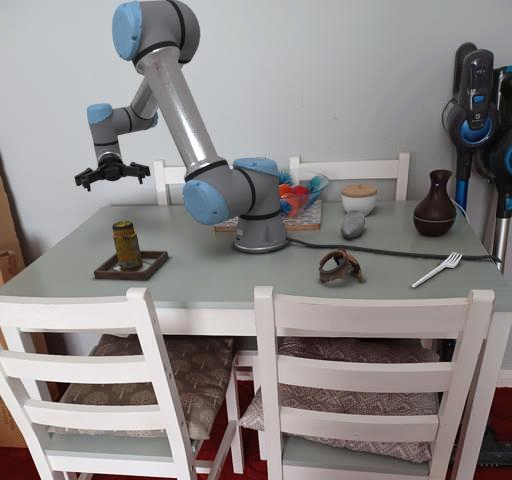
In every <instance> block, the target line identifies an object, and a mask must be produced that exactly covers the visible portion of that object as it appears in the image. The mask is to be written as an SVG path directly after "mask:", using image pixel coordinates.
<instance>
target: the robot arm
mask: <svg viewBox="0 0 512 480" xmlns="http://www.w3.org/2000/svg"><path fill="white" fill-rule="evenodd" d="M111 35H112V41H113V46H114V49H115V52H116V54H117V55H118V57H119V58H120V59H122V60H123V61H126V62H131V63H132V65H133V67H134V69H135V71H136V73H137V74H138V75H141V76H143V79H142V81H141V83H140V84H139V86H138V89H137V90H136V92H135V94H134V97H133V99H132V101H131V102H130V104H129V105H128V106H122V107H115V108H113V106H112V105H111V104H110V103H109V102H108V103H107V102H103V103H94V104H90V105H88V106H87V107H86V118H87V123H88V127H89V130H90V134H91V137H92V142H93V149H94V153H95V158H96V163H97V167H96V169H93V168H91V167H87V168H86V169H85V170H83V171H82V172H79V173H78V174H76V175H74V182H75V185H76V187H80V186H82V188H83V189H86V191H87V193H91V192H92V190H91V184H93V183H96V182H99V181H105V180H106V181H108V182H116V181H119V180H121V179H122V178H126V177H132V178H137V180H138V183H139V185H143V184H144V181H143V179H146V177H151V175H152V174H151V169H150V168H151V167H150V166H149V165H145V164H141V163H136V162H135V161H131V162H130V163H129V165H127V164H125V163H124V160H123V158H122V157H123V156H122V153H121V147H120V141H119V136H122V135H128V134H132V133H136V132H142V131H148V130H150V129H154V128H155V127H156V126H157V125H158V123H159V113H158V110H159V111H160V113H161V115H162V117H163V120H164V122H165V124H166V126H167V129H168V131H169V134H170V136H171V138H172V140H173V142H174V145H175V147H176V149H177V151H178V154H179V156H180V159H181V161H182V163H183V165H184V167H185V173H184V176H183V180H184V182H185V184H184V185H183V187H182V191H181V193H182V196H183V197H182V201H183V204H184V206H185V209H186V211H187V213H188V214H189V215H190V217H191V218H192V219H193V220H194V221H196V222H197V223H199V224H201V225H203V226H208V227H209V226H214V225H218V224H223V223H224V222H226V221H229V220H232V219H234V218H237V223H236V228H235V232H234V236H233V244H234V248H235V249H236V250H237V251H240V252H243V253H246V254H267V253H272V252H276V251H279V250H281V249H283V248H285V247H286V246H287V245H288V244H289V242H293V243H296V244H298V245H303V246H306V247H309V248H317V249H339V248H344V249H345V250H354V251H355V250H356V251H361V252H362V251H363V252H369V253H378V254H385V255H394V256H403V257H404V256H405V257H412V258H413V257H414V258H427V259H429V258H430V259H447V258H448V257H449V256H450V255H451V254H433V253H418V252H404V251H395V250H387V249H379V248H371V247H364V246H356V245H347V244H317V243H316V244H315V243H309V242H306V241H303V240H301V239H296V238H292V237H289V233H288V231H287V227H286V225H285V223H284V220H283V218H282V216H281V196H280V193H281V192H280V175H279V169H278V168H279V167H278V163H277V162H276V161H275V160H273V159H270V158H264V157H241V158H235V159H234V160H233V161H232V168H231V167H230V165H229V163H228V160H227V158H224V157H222V156H220V155H218V152H217V150H216V148H215V146H214V143H213V141H212V139H211V136H210V134H209V131H208V129H207V127H206V124H205V122H204V120H203V117H202V115H201V112H200V110H199V108H198V106H197V103H196V101H195V98H194V96H193V94H192V92H191V89H190V87H189V85H188V83H187V80H186V77H185V76H184V73H183V70H182V69H183V67H184V65H188V64H189V63H190V62H191V61H192V60H193V59H194V57H195V55H196V53H197V51H198V49H199V46H200V42H201V26H200V23H199V20H198V17H197V15H196V14H195V12H194V11H193V10H192V8H191V7H190V6H188V5H187V4H186V3H185V2H182V1H181V0H141V1H138V0H132V1H128V2H122V3H120V4H118V6H117V7H116V9H115V10H114V13H113V16H112V20H111ZM460 255H461V254H459V255H458V257H457V259H458V258H459V257H460ZM453 256H454V254H453V255H452V257H453ZM456 256H457V254H456V255H455V257H456ZM452 257H451V258H452ZM455 257H454V258H453V260H454V259H455ZM451 258H450V259H451ZM450 259H449V260H450ZM457 259H456V260H457ZM486 259H487V260H488V259H490V260H494V261H496V263H499V264H503V263H504V262H503V261H502V260H501V258H499V257H498V256H496V255H493V254H484V255H466V254H465V255H463V254H462V256H461V259H460V260H486Z"/></svg>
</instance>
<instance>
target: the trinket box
mask: <svg viewBox="0 0 512 480" xmlns="http://www.w3.org/2000/svg"><path fill="white" fill-rule="evenodd" d="M377 196H378V188H377V187H376V186H375V185H372V184H362V183H360V182H358V183H357V184H349V185H346V186H344V187H342V188H341V203H342V207H343V209H344V211H345V212H346V214H347V213H348V212H349V211H351V210H359V211H361V212H362V213H363V214H364V217H367V216H369V214H370V213H371V212H372V211H373V210H374V208H375V206H376V203H377V199H378V198H377Z"/></svg>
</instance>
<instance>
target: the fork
mask: <svg viewBox="0 0 512 480" xmlns="http://www.w3.org/2000/svg"><path fill="white" fill-rule="evenodd" d="M449 255H450V256H449V257H448V258H445V260H443V261H442V262H441V263H440V265H438V266H437V267H435V268H434V269H433V270H431V271H429V272H428V273H427V274H425V275H424V276H423V277H421V278H420V279H418V280H417V281H415V282H414V283H412V285H411V288H416V287H418V286H419V285H421V284H422V283H424V282H425V281H427V280H428V279H430V278H432V276H433V277H434V275H436V274H437V273H439V272H440V271H442V270H443V269H444V268H449V269H450V268H451V269H454V268H455V267H457V265H458V264H459V262H460V260H462V259H461V256H462V255H463V253H461V254H460V252H458V253H457V252H456V251H453V252H451V254H449ZM452 255H454V256H453V257H452ZM455 255H457V256H456V257H455ZM458 255H460V257H459V258H458V259H457V257H458ZM451 257H452V258H451ZM454 257H455V259H453V258H454ZM450 258H451V259H450Z"/></svg>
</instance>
